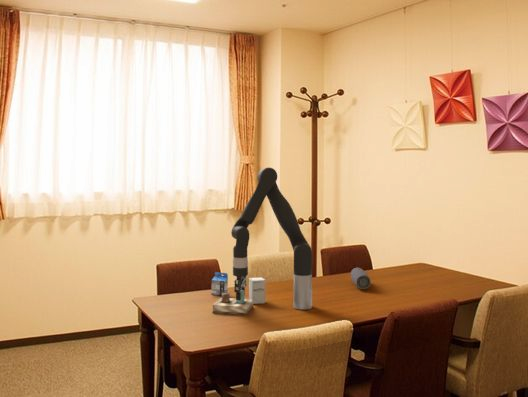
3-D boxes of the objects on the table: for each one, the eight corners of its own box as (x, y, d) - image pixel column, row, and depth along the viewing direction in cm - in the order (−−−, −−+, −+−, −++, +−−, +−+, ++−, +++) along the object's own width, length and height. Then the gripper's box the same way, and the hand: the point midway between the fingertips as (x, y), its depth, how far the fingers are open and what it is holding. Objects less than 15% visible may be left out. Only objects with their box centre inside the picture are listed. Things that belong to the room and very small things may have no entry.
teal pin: (245, 307, 258) (245, 289, 257) (243, 309, 254) (243, 291, 253) (237, 307, 259) (237, 289, 258) (235, 309, 255) (235, 291, 254)
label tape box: (211, 294, 288) (210, 273, 287) (215, 293, 291) (214, 271, 291) (224, 296, 284) (224, 274, 283) (228, 294, 287) (228, 273, 287)
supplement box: (251, 304, 267) (251, 280, 267) (248, 300, 274) (248, 277, 274) (265, 303, 269) (265, 279, 268) (261, 299, 276) (261, 276, 276)
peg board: (252, 307, 262) (252, 291, 262) (246, 315, 248) (246, 298, 248) (220, 305, 266) (220, 290, 265) (212, 312, 252) (212, 296, 251)
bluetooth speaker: (371, 291, 295) (371, 274, 295) (355, 291, 296) (355, 274, 295) (364, 282, 318) (364, 266, 318) (349, 282, 318) (349, 266, 318)
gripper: (244, 269, 247) (244, 302, 248) (251, 263, 261) (251, 294, 262) (229, 268, 249) (229, 301, 250) (236, 262, 262) (236, 294, 263)
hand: (240, 297), depth 256 cm, fingers open, 8 cm apart
